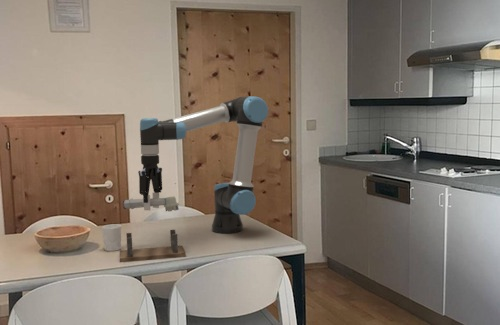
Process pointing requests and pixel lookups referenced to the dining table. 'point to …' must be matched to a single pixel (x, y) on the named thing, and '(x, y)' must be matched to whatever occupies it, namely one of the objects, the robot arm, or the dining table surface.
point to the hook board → (152, 250)
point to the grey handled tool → (152, 203)
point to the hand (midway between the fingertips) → (151, 208)
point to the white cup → (112, 237)
